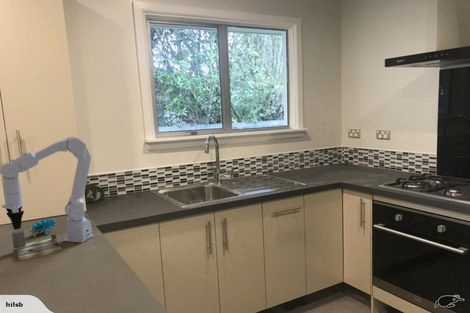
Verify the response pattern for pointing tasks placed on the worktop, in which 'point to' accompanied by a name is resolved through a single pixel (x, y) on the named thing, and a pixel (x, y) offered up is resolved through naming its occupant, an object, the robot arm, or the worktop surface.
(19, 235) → the grey rectangular block
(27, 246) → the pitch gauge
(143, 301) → the worktop surface
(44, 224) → the blue bumpy figurine
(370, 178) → the worktop surface
